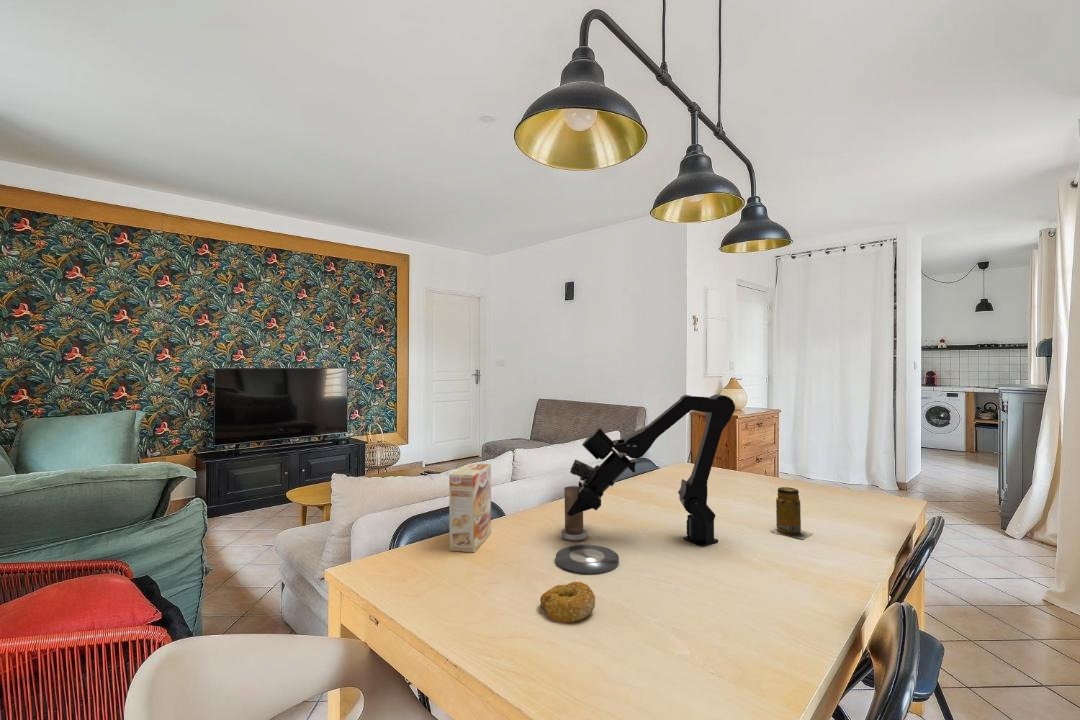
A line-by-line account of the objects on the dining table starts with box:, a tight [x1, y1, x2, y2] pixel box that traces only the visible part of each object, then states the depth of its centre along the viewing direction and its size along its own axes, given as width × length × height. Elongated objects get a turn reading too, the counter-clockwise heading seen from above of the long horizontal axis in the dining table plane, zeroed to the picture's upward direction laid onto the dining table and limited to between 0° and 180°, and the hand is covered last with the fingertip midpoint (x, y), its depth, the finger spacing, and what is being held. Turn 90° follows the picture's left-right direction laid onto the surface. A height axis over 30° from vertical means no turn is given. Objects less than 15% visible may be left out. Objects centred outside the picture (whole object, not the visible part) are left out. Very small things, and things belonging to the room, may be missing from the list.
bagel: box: [539, 581, 596, 624], centre depth 93 cm, size 10×11×5 cm
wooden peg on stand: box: [560, 485, 588, 542], centre depth 133 cm, size 7×7×13 cm
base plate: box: [555, 544, 620, 575], centre depth 117 cm, size 15×15×1 cm
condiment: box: [770, 486, 814, 540], centre depth 135 cm, size 7×8×12 cm
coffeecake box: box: [448, 463, 492, 553], centre depth 131 cm, size 15×7×20 cm, turn 168°
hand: (568, 511), depth 133 cm, fingers closed on wooden peg on stand, 5 cm apart
